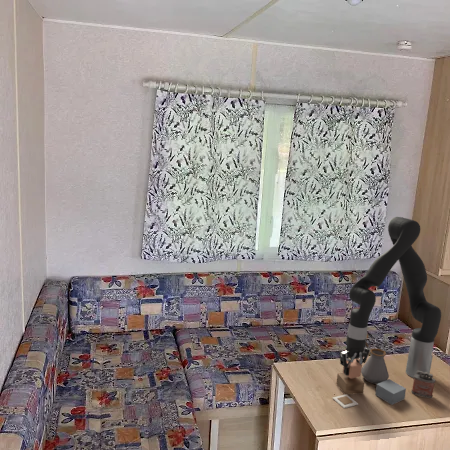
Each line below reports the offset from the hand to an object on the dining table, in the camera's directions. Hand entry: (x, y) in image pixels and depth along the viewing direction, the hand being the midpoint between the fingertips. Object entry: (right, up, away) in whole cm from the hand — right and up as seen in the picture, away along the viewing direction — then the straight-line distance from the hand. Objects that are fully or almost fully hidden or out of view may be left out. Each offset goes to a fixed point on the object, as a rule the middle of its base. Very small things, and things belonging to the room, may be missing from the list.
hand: (351, 373), depth 200 cm
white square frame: (-5, -9, -8) cm, 13 cm away
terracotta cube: (0, -1, 0) cm, 0 cm away
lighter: (+29, -9, +1) cm, 30 cm away
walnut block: (-1, -7, +2) cm, 7 cm away
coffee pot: (+11, -5, +15) cm, 19 cm away
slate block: (+15, -9, -3) cm, 17 cm away
